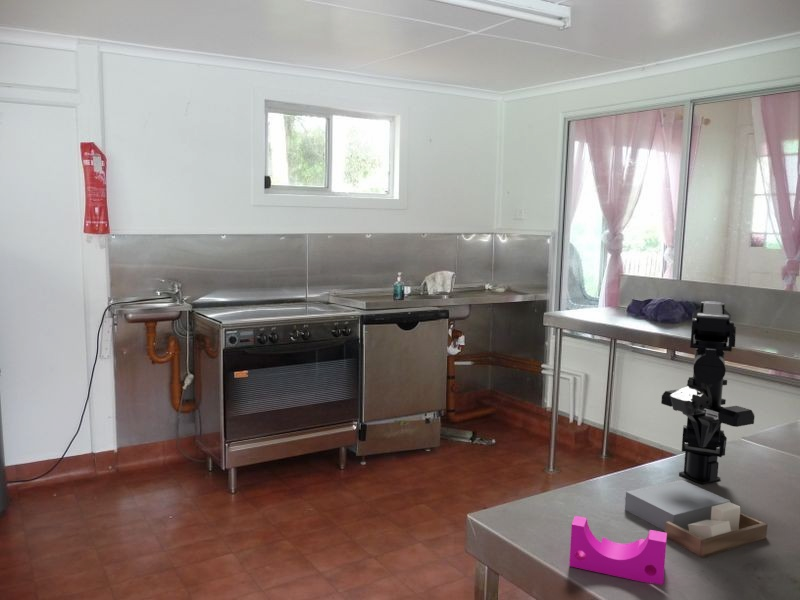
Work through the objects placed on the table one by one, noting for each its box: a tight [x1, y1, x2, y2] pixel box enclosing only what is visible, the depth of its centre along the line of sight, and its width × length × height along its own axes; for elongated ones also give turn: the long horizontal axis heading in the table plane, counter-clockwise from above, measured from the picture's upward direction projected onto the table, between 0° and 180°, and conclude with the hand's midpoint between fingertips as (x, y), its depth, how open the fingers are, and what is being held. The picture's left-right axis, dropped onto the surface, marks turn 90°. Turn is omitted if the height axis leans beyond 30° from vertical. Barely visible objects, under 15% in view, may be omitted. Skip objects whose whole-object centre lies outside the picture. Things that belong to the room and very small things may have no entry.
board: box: [624, 479, 732, 532], centre depth 137 cm, size 12×16×4 cm
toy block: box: [568, 515, 667, 586], centre depth 116 cm, size 15×6×8 cm, turn 67°
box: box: [664, 511, 768, 559], centre depth 127 cm, size 9×17×3 cm, turn 117°
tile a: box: [688, 520, 731, 539], centre depth 125 cm, size 5×5×2 cm
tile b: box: [711, 502, 741, 531], centre depth 129 cm, size 5×5×2 cm
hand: (702, 446), depth 143 cm, fingers closed
